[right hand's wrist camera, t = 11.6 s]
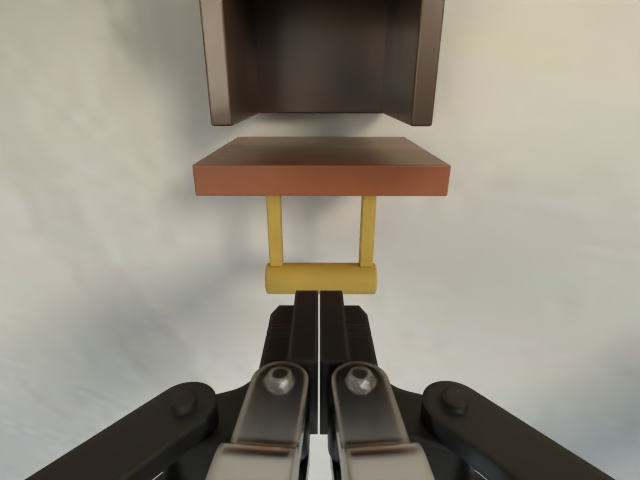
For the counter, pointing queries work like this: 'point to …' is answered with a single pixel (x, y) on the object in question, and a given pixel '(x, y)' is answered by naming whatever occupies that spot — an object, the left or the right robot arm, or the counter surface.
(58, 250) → the counter surface
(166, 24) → the counter surface
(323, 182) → the drawer
